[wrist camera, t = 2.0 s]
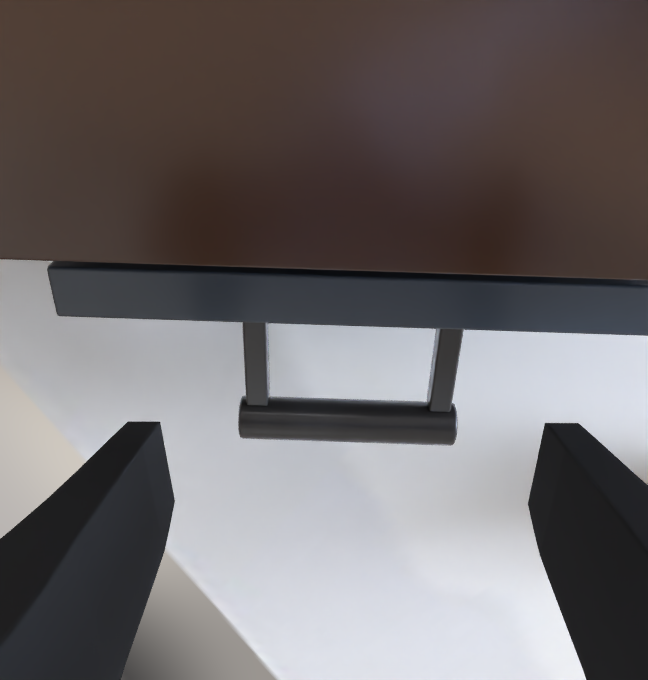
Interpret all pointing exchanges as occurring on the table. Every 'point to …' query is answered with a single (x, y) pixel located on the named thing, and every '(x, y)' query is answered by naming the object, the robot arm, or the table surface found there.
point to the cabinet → (328, 134)
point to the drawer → (350, 310)
